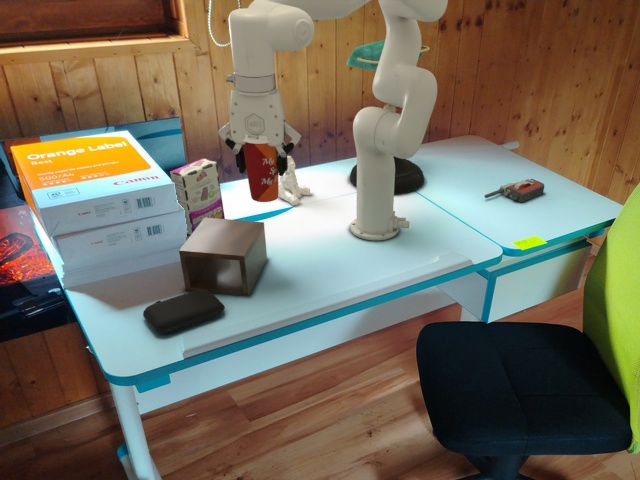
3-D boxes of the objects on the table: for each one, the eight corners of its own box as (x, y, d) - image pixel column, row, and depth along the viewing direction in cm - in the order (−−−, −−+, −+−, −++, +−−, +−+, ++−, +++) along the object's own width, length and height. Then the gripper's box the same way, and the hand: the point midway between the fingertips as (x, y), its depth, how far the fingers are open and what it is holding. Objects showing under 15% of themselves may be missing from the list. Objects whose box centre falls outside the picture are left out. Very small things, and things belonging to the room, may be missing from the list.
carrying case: (206, 293, 137) (139, 315, 129) (204, 281, 135) (136, 303, 127) (228, 315, 130) (159, 340, 122) (227, 303, 128) (156, 328, 120)
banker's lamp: (383, 158, 207) (387, 27, 184) (441, 177, 196) (453, 40, 173) (330, 182, 189) (327, 40, 166) (391, 204, 178) (397, 55, 155)
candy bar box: (212, 216, 167) (203, 157, 157) (225, 221, 165) (218, 161, 155) (179, 232, 159) (168, 170, 149) (193, 237, 157) (183, 175, 147)
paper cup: (276, 206, 127) (271, 138, 119) (240, 201, 128) (232, 134, 120) (288, 191, 133) (284, 126, 125) (254, 187, 134) (248, 121, 126)
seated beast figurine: (295, 206, 174) (293, 165, 167) (268, 200, 177) (265, 159, 170) (312, 194, 181) (310, 154, 174) (286, 188, 184) (283, 148, 177)
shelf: (267, 259, 150) (264, 222, 144) (248, 296, 137) (244, 256, 131) (209, 255, 150) (204, 217, 144) (185, 290, 137) (178, 250, 131)
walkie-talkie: (524, 183, 195) (481, 199, 184) (526, 170, 193) (483, 185, 181) (547, 193, 190) (504, 210, 179) (549, 179, 187) (506, 195, 176)
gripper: (203, 84, 114) (215, 176, 125) (297, 91, 114) (301, 182, 124) (215, 74, 120) (225, 162, 131) (305, 80, 120) (308, 168, 130)
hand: (262, 171), depth 127 cm, fingers closed on paper cup, 7 cm apart
